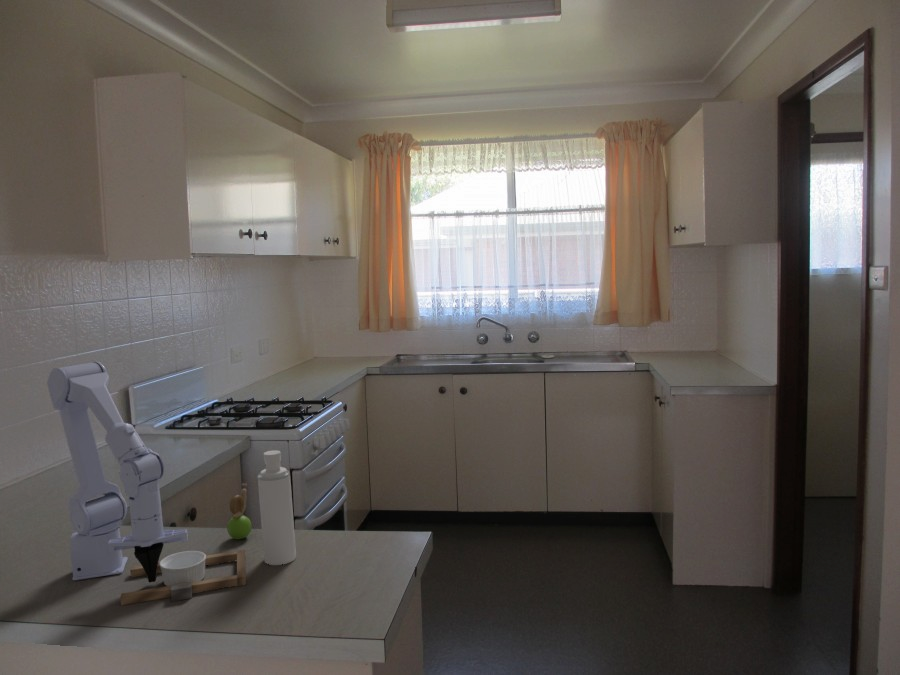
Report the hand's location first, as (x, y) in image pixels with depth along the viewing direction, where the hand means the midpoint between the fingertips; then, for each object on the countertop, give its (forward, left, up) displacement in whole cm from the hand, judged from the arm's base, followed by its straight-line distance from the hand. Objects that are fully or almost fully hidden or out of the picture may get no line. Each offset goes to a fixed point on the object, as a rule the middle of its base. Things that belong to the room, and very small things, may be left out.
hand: (152, 580), depth 144 cm
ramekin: (+6, 0, -1) cm, 6 cm away
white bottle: (+25, +3, -1) cm, 25 cm away
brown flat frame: (+6, 0, -1) cm, 6 cm away
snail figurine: (+17, +19, -1) cm, 26 cm away
